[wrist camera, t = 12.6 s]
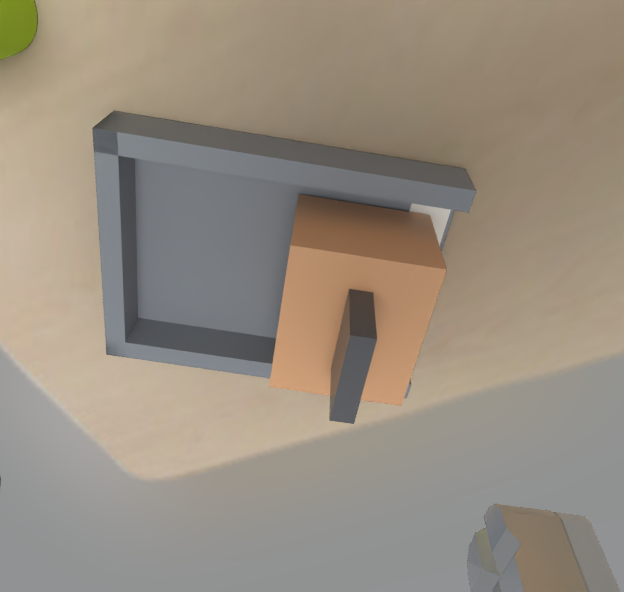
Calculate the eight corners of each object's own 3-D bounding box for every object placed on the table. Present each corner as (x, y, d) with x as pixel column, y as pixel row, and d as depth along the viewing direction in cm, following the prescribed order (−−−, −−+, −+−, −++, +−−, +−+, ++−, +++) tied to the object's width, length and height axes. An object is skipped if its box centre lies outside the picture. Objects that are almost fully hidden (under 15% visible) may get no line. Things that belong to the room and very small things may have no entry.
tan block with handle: (430, 215, 42) (460, 315, 31) (393, 340, 49) (407, 458, 38) (298, 194, 42) (283, 288, 31) (279, 322, 48) (260, 437, 38)
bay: (465, 168, 41) (476, 191, 38) (402, 366, 52) (406, 398, 48) (113, 110, 40) (92, 128, 37) (122, 325, 51) (106, 354, 47)
